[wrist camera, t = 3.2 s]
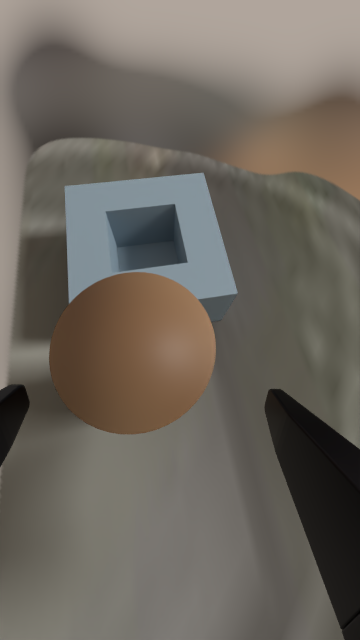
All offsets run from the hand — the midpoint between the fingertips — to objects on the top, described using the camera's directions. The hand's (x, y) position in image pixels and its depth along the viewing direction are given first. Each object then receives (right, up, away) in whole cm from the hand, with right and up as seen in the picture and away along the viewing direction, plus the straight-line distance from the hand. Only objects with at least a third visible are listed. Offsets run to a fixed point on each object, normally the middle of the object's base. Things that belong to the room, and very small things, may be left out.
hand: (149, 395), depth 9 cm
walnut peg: (0, -2, +9) cm, 9 cm away
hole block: (-1, +7, +12) cm, 13 cm away
